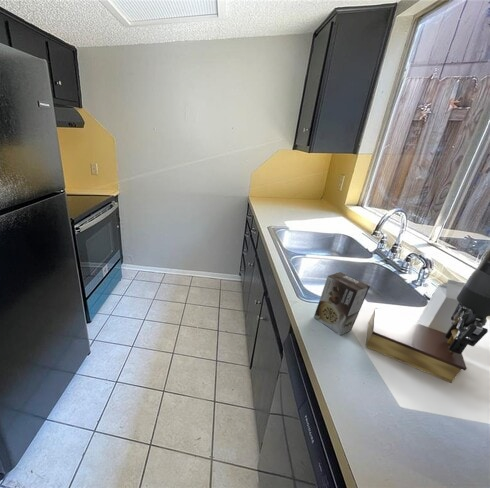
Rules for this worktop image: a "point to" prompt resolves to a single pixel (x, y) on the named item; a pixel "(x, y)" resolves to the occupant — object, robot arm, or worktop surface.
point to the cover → (417, 337)
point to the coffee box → (341, 302)
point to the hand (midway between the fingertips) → (452, 344)
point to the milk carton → (441, 306)
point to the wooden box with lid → (410, 356)
